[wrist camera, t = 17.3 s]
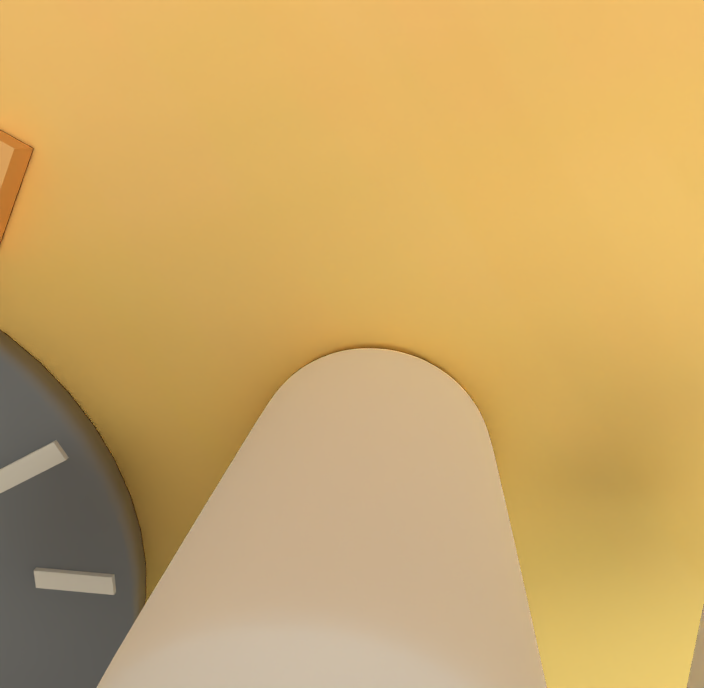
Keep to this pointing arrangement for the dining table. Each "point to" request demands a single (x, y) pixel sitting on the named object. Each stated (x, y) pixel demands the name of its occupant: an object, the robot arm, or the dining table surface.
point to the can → (346, 548)
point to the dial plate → (60, 536)
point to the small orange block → (11, 173)
